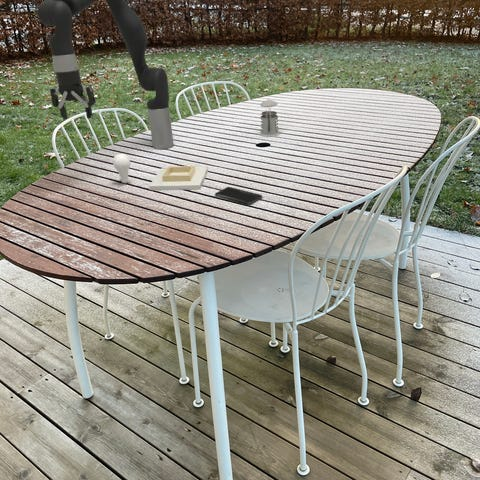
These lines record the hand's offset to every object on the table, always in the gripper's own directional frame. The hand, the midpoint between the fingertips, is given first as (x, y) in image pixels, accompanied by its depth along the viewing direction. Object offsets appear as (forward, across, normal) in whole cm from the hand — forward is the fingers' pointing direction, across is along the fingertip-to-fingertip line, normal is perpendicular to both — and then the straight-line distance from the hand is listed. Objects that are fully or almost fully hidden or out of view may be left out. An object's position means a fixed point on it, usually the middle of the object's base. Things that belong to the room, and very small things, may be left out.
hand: (77, 118), depth 162 cm
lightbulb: (+24, -13, 0) cm, 28 cm away
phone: (+25, -56, +14) cm, 63 cm away
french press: (+24, -64, -58) cm, 90 cm away
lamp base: (+24, -33, -2) cm, 41 cm away
